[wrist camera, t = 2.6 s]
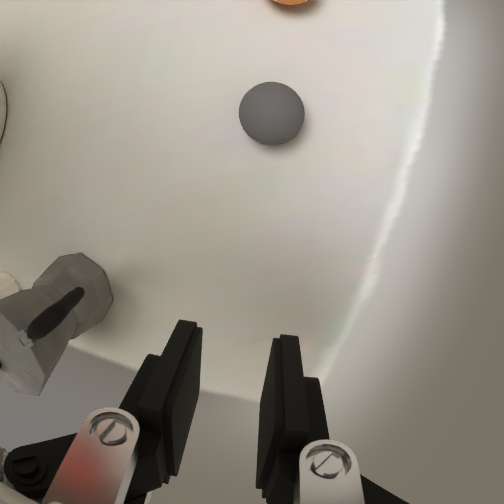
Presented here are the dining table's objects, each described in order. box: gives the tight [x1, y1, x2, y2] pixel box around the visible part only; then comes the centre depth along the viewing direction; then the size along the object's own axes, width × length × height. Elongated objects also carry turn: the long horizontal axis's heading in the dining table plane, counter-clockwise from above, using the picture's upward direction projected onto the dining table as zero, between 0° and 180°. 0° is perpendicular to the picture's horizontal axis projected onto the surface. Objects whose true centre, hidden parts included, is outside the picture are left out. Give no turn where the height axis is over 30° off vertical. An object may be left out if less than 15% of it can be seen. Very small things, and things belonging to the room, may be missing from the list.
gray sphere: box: [239, 82, 305, 145], centre depth 25 cm, size 6×6×6 cm
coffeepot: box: [0, 253, 113, 396], centre depth 26 cm, size 15×9×18 cm, turn 121°
